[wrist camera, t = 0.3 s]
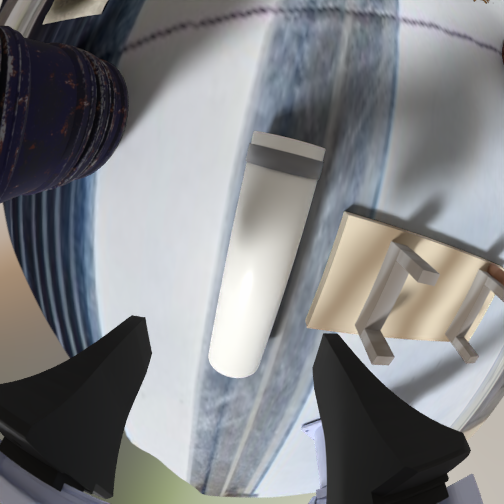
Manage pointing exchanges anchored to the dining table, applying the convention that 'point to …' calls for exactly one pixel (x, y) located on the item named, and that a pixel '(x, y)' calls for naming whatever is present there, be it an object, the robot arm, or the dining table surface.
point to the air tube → (262, 248)
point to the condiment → (73, 9)
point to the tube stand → (402, 289)
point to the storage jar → (55, 114)
